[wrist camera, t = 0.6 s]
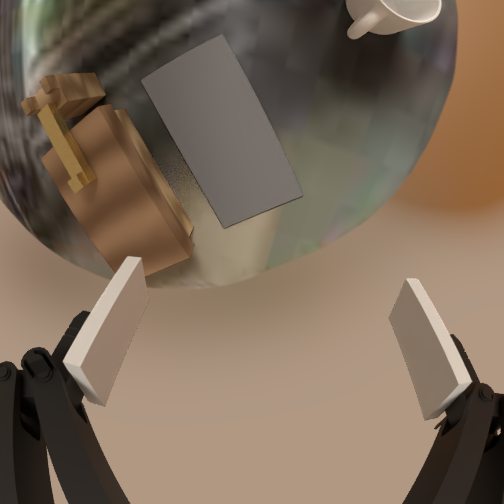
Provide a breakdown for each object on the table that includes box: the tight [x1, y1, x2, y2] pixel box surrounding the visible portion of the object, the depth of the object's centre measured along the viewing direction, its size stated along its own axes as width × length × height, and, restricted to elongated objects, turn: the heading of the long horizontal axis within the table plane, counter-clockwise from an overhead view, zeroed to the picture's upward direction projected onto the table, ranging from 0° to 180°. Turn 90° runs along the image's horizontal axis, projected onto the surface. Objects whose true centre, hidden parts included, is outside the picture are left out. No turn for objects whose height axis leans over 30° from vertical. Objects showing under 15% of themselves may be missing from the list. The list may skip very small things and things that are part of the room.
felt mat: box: [141, 34, 303, 228], centre depth 35 cm, size 24×12×1 cm, turn 26°
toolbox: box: [21, 73, 194, 236], centre depth 32 cm, size 28×8×11 cm, turn 26°
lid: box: [41, 104, 195, 276], centre depth 33 cm, size 21×11×4 cm, turn 26°
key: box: [37, 102, 96, 194], centre depth 25 cm, size 11×2×3 cm, turn 26°
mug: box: [346, 0, 441, 39], centre depth 21 cm, size 12×8×10 cm
